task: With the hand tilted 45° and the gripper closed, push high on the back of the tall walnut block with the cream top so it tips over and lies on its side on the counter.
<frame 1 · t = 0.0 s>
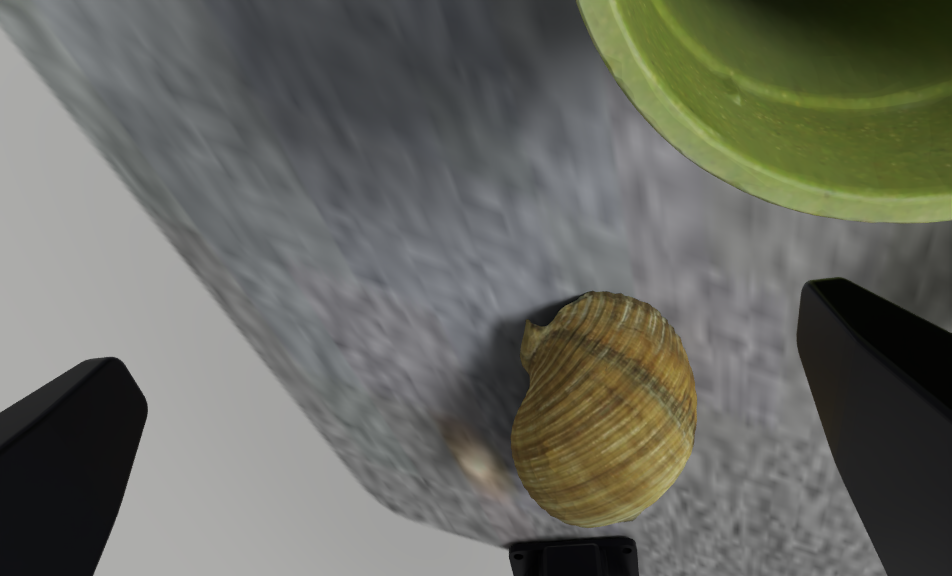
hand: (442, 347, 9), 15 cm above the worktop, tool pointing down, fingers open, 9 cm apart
seashell: (590, 372, 29), on the worktop
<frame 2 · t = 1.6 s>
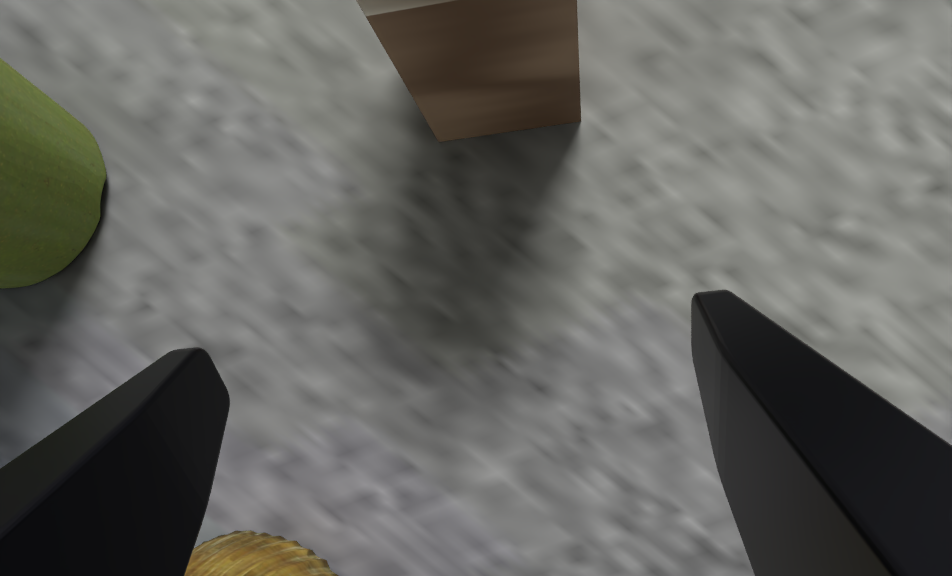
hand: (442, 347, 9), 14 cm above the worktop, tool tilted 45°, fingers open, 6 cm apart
plant pot: (30, 201, 27), on the worktop
walnut block: (502, 65, 24), on the worktop
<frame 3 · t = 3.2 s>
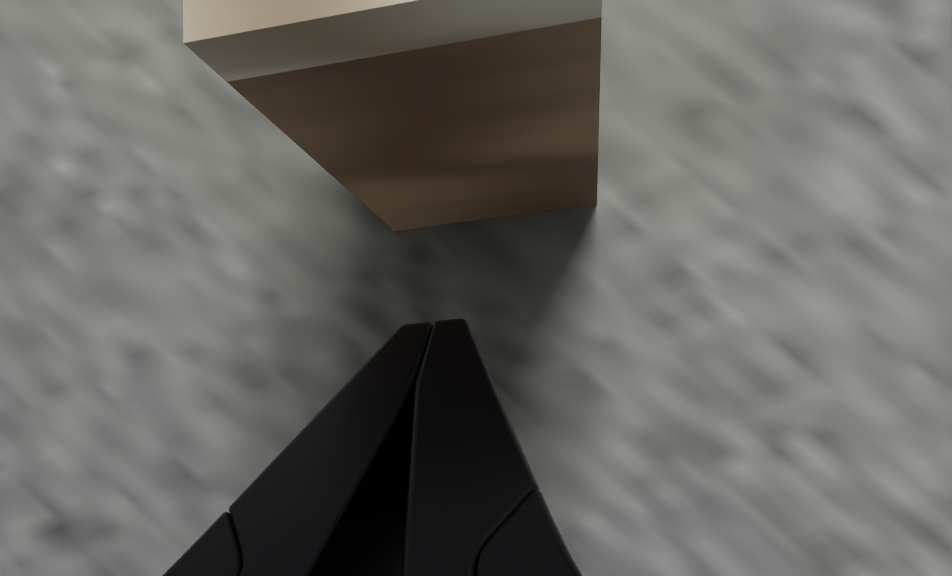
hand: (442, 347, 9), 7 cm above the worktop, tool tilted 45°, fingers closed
walnut block: (484, 122, 17), on the worktop
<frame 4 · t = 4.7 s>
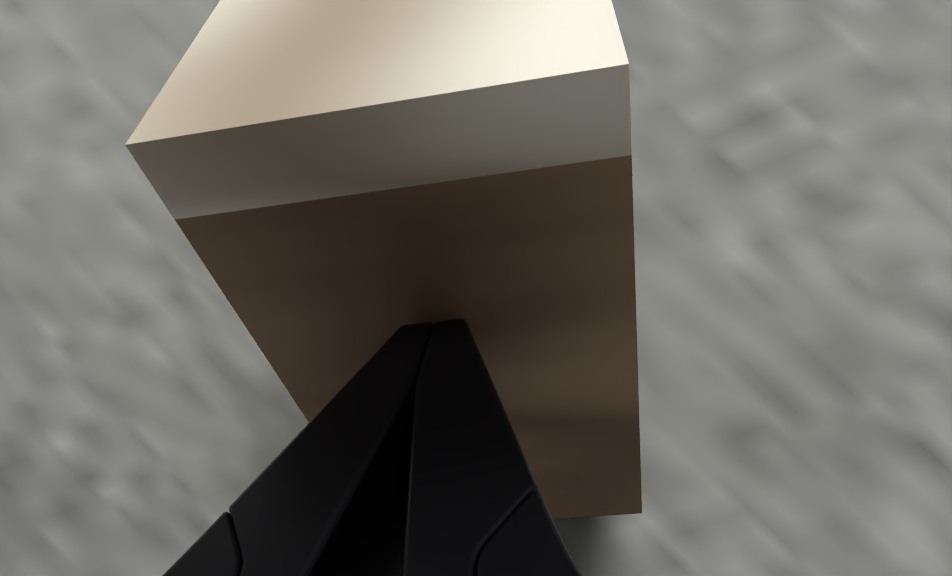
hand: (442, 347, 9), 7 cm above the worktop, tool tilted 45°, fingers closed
walnut block: (505, 410, 15), point 1 cm above the worktop, tilted 33°
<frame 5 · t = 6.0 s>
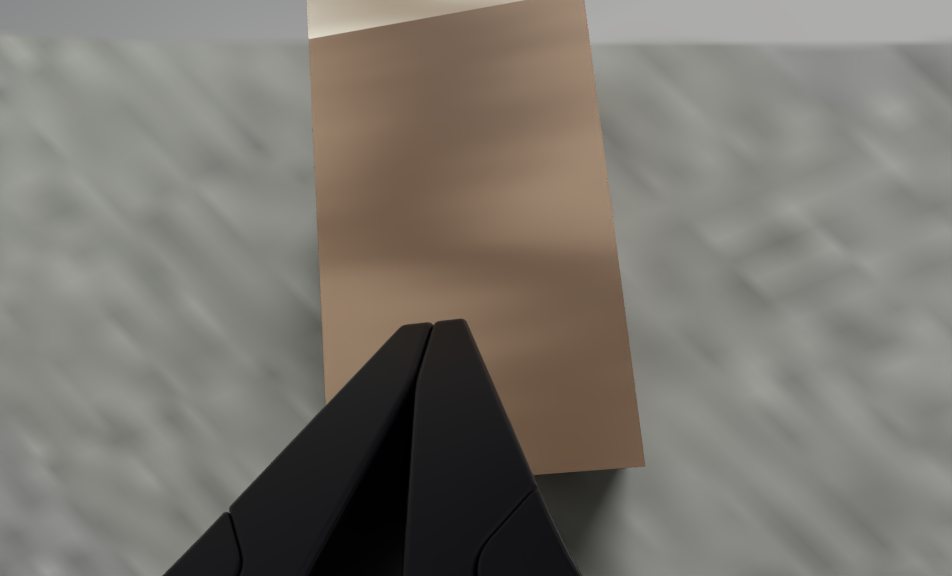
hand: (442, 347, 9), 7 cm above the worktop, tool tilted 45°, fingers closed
walnut block: (502, 465, 13), point 2 cm above the worktop, tilted 90°
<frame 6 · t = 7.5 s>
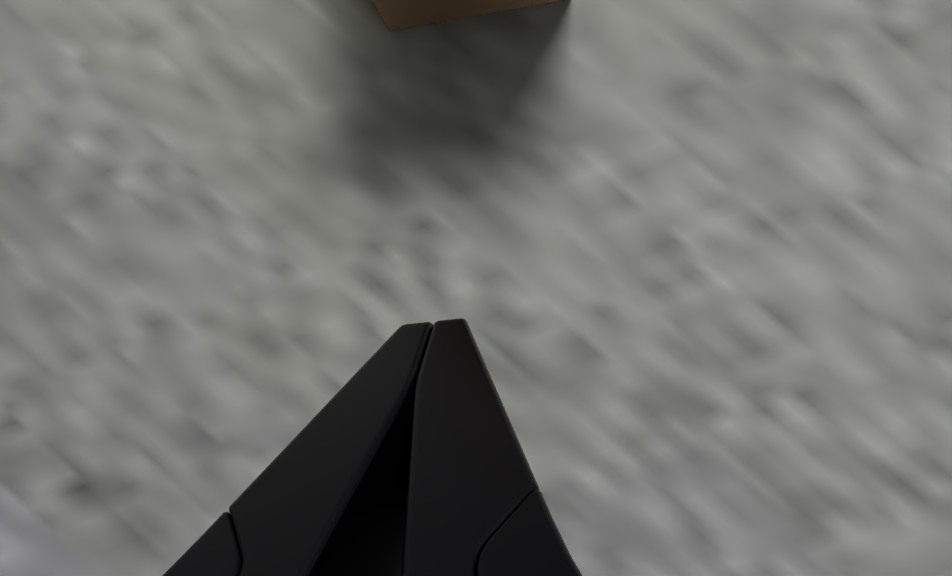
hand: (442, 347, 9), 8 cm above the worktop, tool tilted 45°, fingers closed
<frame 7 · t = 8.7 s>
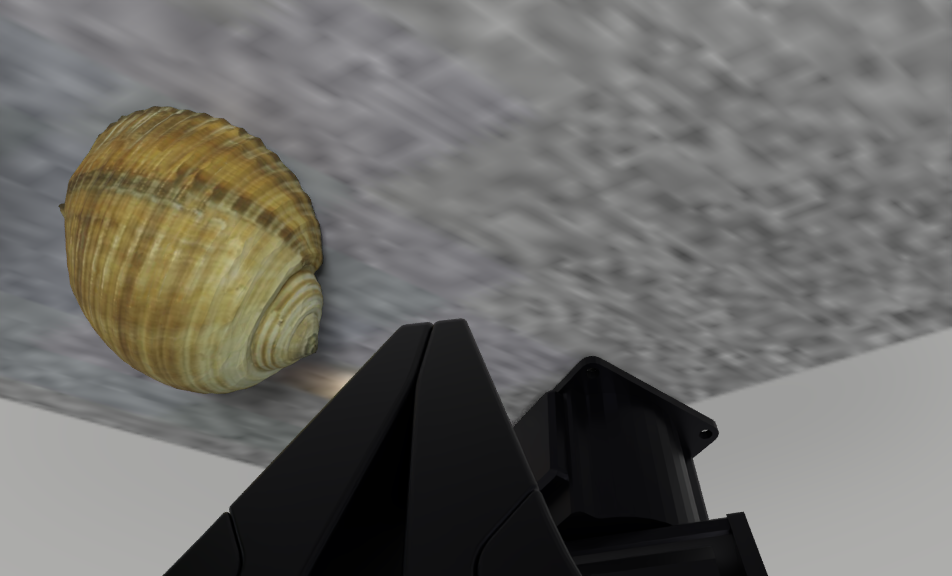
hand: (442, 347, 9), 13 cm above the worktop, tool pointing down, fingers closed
seashell: (217, 222, 24), on the worktop
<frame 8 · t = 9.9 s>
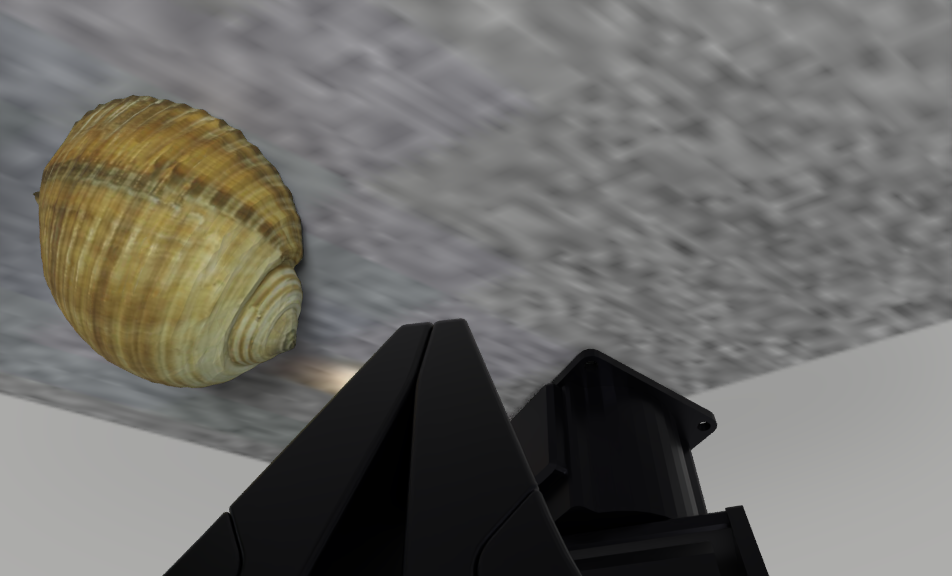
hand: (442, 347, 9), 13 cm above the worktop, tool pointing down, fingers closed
seashell: (196, 213, 23), on the worktop
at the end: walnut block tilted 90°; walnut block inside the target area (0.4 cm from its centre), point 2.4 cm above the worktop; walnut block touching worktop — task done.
